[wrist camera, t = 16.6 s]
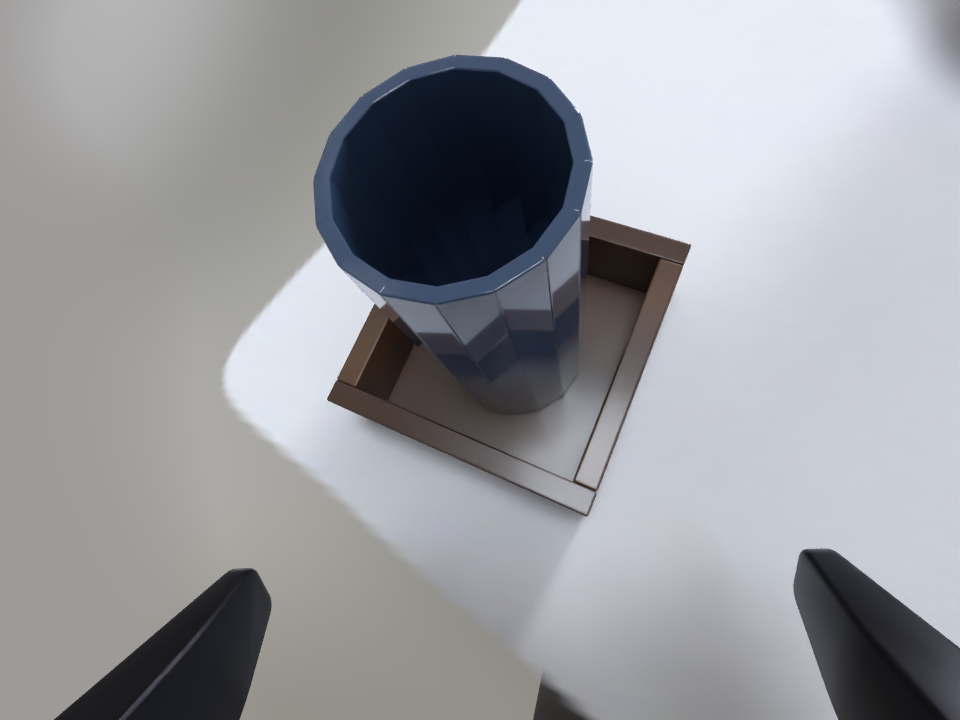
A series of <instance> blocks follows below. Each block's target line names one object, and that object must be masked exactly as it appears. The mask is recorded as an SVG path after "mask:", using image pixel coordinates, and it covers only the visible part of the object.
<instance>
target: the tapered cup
mask: <svg viewBox="0 0 960 720" xmlns="http://www.w3.org/2000/svg"><path fill="white" fill-rule="evenodd" d="M592 169H593V159H592V155H591V151H590V147H589V143H588V139H587V135H586V131H585V127H584V123H583V118H582V116H581V114H580V112H579V111H578V110H577V109H576V107H575V106H574V105H573V104H572V103H571V102H570V101H569V99H568V98H567V97H566V96H565V95H564V94H563V92H562V91H561V90H560V89H559V88H558V87H557V86H556V84H555V83H554V82H553V81H552V80H551V79H549V78H548V77H547V76H545V75H543V74H540V73H538V72H536V71H534V70H531V69H529V68H527V67H525V66H523V65H520V64H518V63H516V62H514V61H512V60H509V59H507V58H506V59H505V58H501V57H485V56H467V55H456V56H455V55H453V56H449V57H445V58H441V59H438V60H434V61H430V62H426V63H422V64H419V65H415V66H411V67H408V68H406V69H403V70H402V71H400V72H398V73H397V74H395V75H394V76H392V77H390V78H389V79H387V80H386V81H384V82H383V83H381V84H380V85H378V86H376V87H375V88H373V89H371V90H370V91H368V92H367V93H365V94H364V95H363V97H360V98H359V100H358V101H357V102H356V103H355V104H354V106H353V107H352V108H351V109H350V110H349V112H348V113H347V114H346V115H345V116H344V118H343V119H342V120H341V121H340V122H339V124H338V125H337V126H336V127H335V128H334V130H333V131H332V132H331V135H329V137H328V140H327V143H326V146H325V148H324V151H323V154H322V157H321V160H320V162H319V165H318V168H317V170H316V173H315V176H314V199H315V217H316V225H317V229H318V231H319V233H320V234H321V236H322V238H323V240H324V242H325V243H326V245H327V247H328V249H329V250H330V252H331V254H332V256H333V258H334V259H335V261H336V263H337V265H338V266H339V267H340V268H341V269H342V270H343V271H344V272H345V274H346V275H347V276H348V277H349V278H350V279H351V280H352V281H353V282H354V283H355V284H356V285H357V286H358V287H359V288H360V289H361V290H362V291H363V292H364V293H365V294H366V295H367V296H368V297H369V298H370V299H371V300H372V301H373V302H374V303H375V304H376V305H377V306H378V307H379V308H380V309H381V310H382V311H383V312H384V313H385V314H386V315H387V316H388V317H389V318H390V319H391V320H392V321H393V322H394V324H395V325H396V326H397V327H398V328H399V329H400V330H401V331H402V332H403V333H404V334H405V335H406V336H407V337H408V338H409V339H410V340H411V341H412V342H413V343H414V344H415V345H416V346H417V347H418V348H419V349H420V350H421V351H422V352H423V353H424V354H425V355H426V356H427V357H428V358H429V359H430V360H431V361H432V362H433V363H434V364H435V365H436V366H437V367H438V368H439V369H440V370H441V371H442V372H443V373H444V375H445V376H446V377H447V378H448V379H449V380H450V381H451V382H452V383H453V384H454V385H455V386H456V387H457V388H458V389H459V390H460V391H461V392H462V393H463V394H465V395H466V396H468V397H469V398H470V399H471V400H473V401H474V402H475V403H477V404H478V405H480V406H482V407H484V408H486V409H488V410H491V411H494V412H498V413H504V414H522V413H528V412H532V411H535V410H538V409H541V408H543V407H545V406H547V405H549V404H550V403H552V402H553V401H555V400H556V399H557V398H559V397H560V396H561V395H562V394H563V393H564V392H565V391H566V389H567V388H568V387H569V386H570V384H571V383H572V381H573V379H574V378H575V376H576V373H577V371H578V369H579V365H580V362H581V355H582V350H583V344H584V325H585V305H586V286H587V266H588V247H589V227H590V208H591V188H592Z"/></svg>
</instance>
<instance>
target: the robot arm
mask: <svg viewBox="0 0 960 720" xmlns="http://www.w3.org/2000/svg"><path fill="white" fill-rule="evenodd" d="M794 596H795V600H796V603H797V606H798V609H799V612H800V614H801V617H802V620H803V623H804V626H805V629H806V632H807V635H808V637H809V640H810V643H811V646H812V649H813V652H814V655H815V657H816V660H817V663H818V666H819V669H820V672H821V675H822V678H823V680H824V683H825V686H826V689H827V692H828V695H829V697H830V700H831V703H832V705H833V708H834V710H835V713H836V715H837V717H838V719H839V720H960V648H959V647H958V646H956V645H955V644H954V643H953V642H951V641H950V640H949V639H947V638H946V637H945V636H944V635H942V634H941V633H940V632H939V631H937V630H936V629H935V628H933V627H932V626H931V625H930V624H928V623H927V622H926V621H924V620H923V619H922V618H921V617H919V616H918V615H917V614H915V613H914V612H913V611H912V610H910V609H909V608H908V607H906V606H905V605H904V604H903V603H901V602H900V601H899V600H897V599H896V598H895V597H894V596H892V595H891V594H890V593H889V592H887V591H886V590H885V589H883V588H882V587H881V586H880V585H878V584H877V583H876V582H874V581H873V580H872V579H871V578H869V577H868V576H867V575H865V574H864V573H863V572H862V571H860V570H859V569H858V568H856V567H855V566H854V565H853V564H851V563H850V562H849V561H847V560H846V559H845V558H844V557H842V556H841V555H840V554H838V553H837V552H835V551H833V550H831V549H805V550H803V551H802V552H801V553H800V555H799V559H798V564H797V569H796V574H795V579H794ZM270 612H271V598H270V595H269V593H268V591H267V589H266V587H265V586H264V584H263V582H262V580H261V578H260V576H259V574H258V573H257V571H256V570H254V569H252V568H243V569H232V570H230V571H228V572H227V573H226V574H224V575H223V576H222V577H221V578H220V579H218V580H217V581H216V582H215V583H214V584H213V585H211V586H210V587H209V588H208V589H207V590H205V591H204V592H203V593H202V594H201V595H200V596H198V597H197V598H196V599H195V600H194V601H193V602H191V603H190V604H189V605H188V606H187V607H186V608H185V609H183V610H182V611H181V612H180V613H179V614H177V615H176V616H175V617H174V618H173V619H171V620H170V621H169V622H168V623H167V624H166V625H165V626H163V627H162V628H161V629H160V630H159V631H157V632H156V633H155V634H154V635H153V636H152V637H151V638H149V639H148V640H147V641H146V642H145V643H143V644H142V645H141V646H140V647H139V648H137V649H136V650H135V651H134V652H133V653H132V654H131V655H129V656H128V657H127V658H126V659H125V660H123V661H122V662H121V663H120V664H119V665H118V666H116V667H115V668H114V669H113V670H112V671H110V672H109V673H108V674H107V675H106V676H105V677H104V678H102V679H101V680H100V681H99V682H98V683H96V684H95V685H94V686H93V687H92V688H91V689H89V690H88V691H87V692H86V693H85V694H84V695H82V696H81V697H80V698H79V699H78V700H76V701H75V702H74V703H73V704H72V705H71V706H70V707H68V708H67V709H66V710H65V711H64V712H63V713H61V714H60V715H59V716H58V717H57V718H56V719H54V720H239V719H240V716H241V713H242V711H243V708H244V705H245V702H246V699H247V695H248V692H249V689H250V685H251V681H252V678H253V675H254V670H255V667H256V664H257V660H258V656H259V653H260V649H261V645H262V642H263V638H264V634H265V631H266V627H267V624H268V620H269V616H270Z"/></svg>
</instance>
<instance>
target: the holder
mask: <svg viewBox="0 0 960 720" xmlns="http://www.w3.org/2000/svg"><path fill="white" fill-rule="evenodd" d="M690 247H691V244H688V243H684V242H681V241H677V240H674V239H670V238H667V237H663V236H660V235H656V234H653V233H650V232H646V231H643V230H639V229H636V228H632V227H629V226H625V225H622V224H618V223H615V222H611V221H608V220H604V219H601V218H597V217H594V216H590V227H589V247H588V266H587V286H586V305H585V325H584V344H583V350H582V355H581V362H580V365H579V369H578V371H577V373H576V376H575V378H574V379H573V381H572V383H571V384H570V386H569V387H568V388H567V389H566V391H565V392H564V393H563V394H562V395H561V396H560V397H559V398H557V399H556V400H555V401H553V402H552V403H550V404H549V405H547V406H545V407H543V408H541V409H538V410H535V411H532V412H528V413H522V414H504V413H498V412H494V411H491V410H488V409H486V408H484V407H482V406H480V405H478V404H477V403H475V402H474V401H473V400H471V399H470V398H469V397H468V396H466V395H465V394H463V393H462V392H461V391H460V390H459V389H458V388H457V387H456V386H455V385H454V384H453V383H452V382H451V381H450V380H449V379H448V378H447V377H446V376H445V375H444V373H443V372H442V371H441V370H440V369H439V368H438V367H437V366H436V365H435V364H434V363H433V362H432V361H431V360H430V359H429V358H428V357H427V356H426V355H425V354H424V353H423V352H422V351H421V350H420V349H419V348H418V347H417V346H416V345H415V344H414V343H413V342H412V341H411V340H410V339H409V338H408V337H407V336H406V335H405V334H404V333H403V332H402V331H401V330H400V329H399V328H398V327H397V326H396V325H395V324H394V322H393V321H392V320H391V319H390V318H389V317H388V316H387V315H386V314H385V313H384V312H383V311H382V310H381V309H380V308H379V307H378V306H377V305H376V304H374V306H373V308H372V310H371V312H370V314H369V316H368V318H367V320H366V322H365V324H364V326H363V328H362V330H361V332H360V334H359V336H358V338H357V340H356V342H355V344H354V346H353V348H352V350H351V352H350V354H349V356H348V358H347V360H346V362H345V364H344V366H343V368H342V370H341V372H340V374H339V376H338V380H337V381H336V382H335V384H334V386H333V388H332V390H331V392H330V394H329V396H328V398H327V400H328V401H330V402H332V403H334V404H336V405H339V406H341V407H343V408H345V409H348V410H350V411H352V412H354V413H357V414H359V415H361V416H363V417H365V418H368V419H370V420H372V421H374V422H377V423H379V424H381V425H383V426H386V427H388V428H390V429H392V430H394V431H397V432H399V433H401V434H403V435H406V436H408V437H410V438H412V439H415V440H417V441H419V442H421V443H423V444H426V445H428V446H430V447H432V448H435V449H437V450H439V451H441V452H443V453H446V454H448V455H450V456H452V457H455V458H457V459H459V460H461V461H464V462H466V463H468V464H470V465H472V466H475V467H477V468H479V469H481V470H484V471H486V472H488V473H490V474H493V475H495V476H497V477H499V478H501V479H504V480H506V481H508V482H510V483H513V484H515V485H517V486H519V487H522V488H524V489H526V490H528V491H530V492H533V493H535V494H537V495H539V496H542V497H544V498H546V499H548V500H550V501H553V502H555V503H557V504H559V505H562V506H564V507H566V508H568V509H571V510H573V511H575V512H577V513H579V514H582V515H584V516H588V515H589V512H590V510H591V507H592V505H593V502H594V499H595V497H596V491H597V490H598V489H599V486H600V484H601V481H602V478H603V476H604V473H605V470H606V468H607V465H608V463H609V460H610V457H611V455H612V452H613V449H614V447H615V444H616V442H617V439H618V436H619V434H620V431H621V428H622V426H623V423H624V421H625V418H626V415H627V413H628V410H629V407H630V405H631V402H632V400H633V397H634V394H635V392H636V389H637V386H638V384H639V381H640V379H641V376H642V373H643V371H644V368H645V365H646V363H647V360H648V358H649V355H650V352H651V350H652V347H653V344H654V342H655V339H656V337H657V334H658V331H659V329H660V326H661V323H662V321H663V318H664V316H665V313H666V310H667V308H668V305H669V302H670V300H671V297H672V295H673V292H674V289H675V287H676V284H677V281H678V279H679V276H680V274H681V271H682V268H683V265H684V263H685V261H686V258H687V255H688V253H689V250H690Z"/></svg>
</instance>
